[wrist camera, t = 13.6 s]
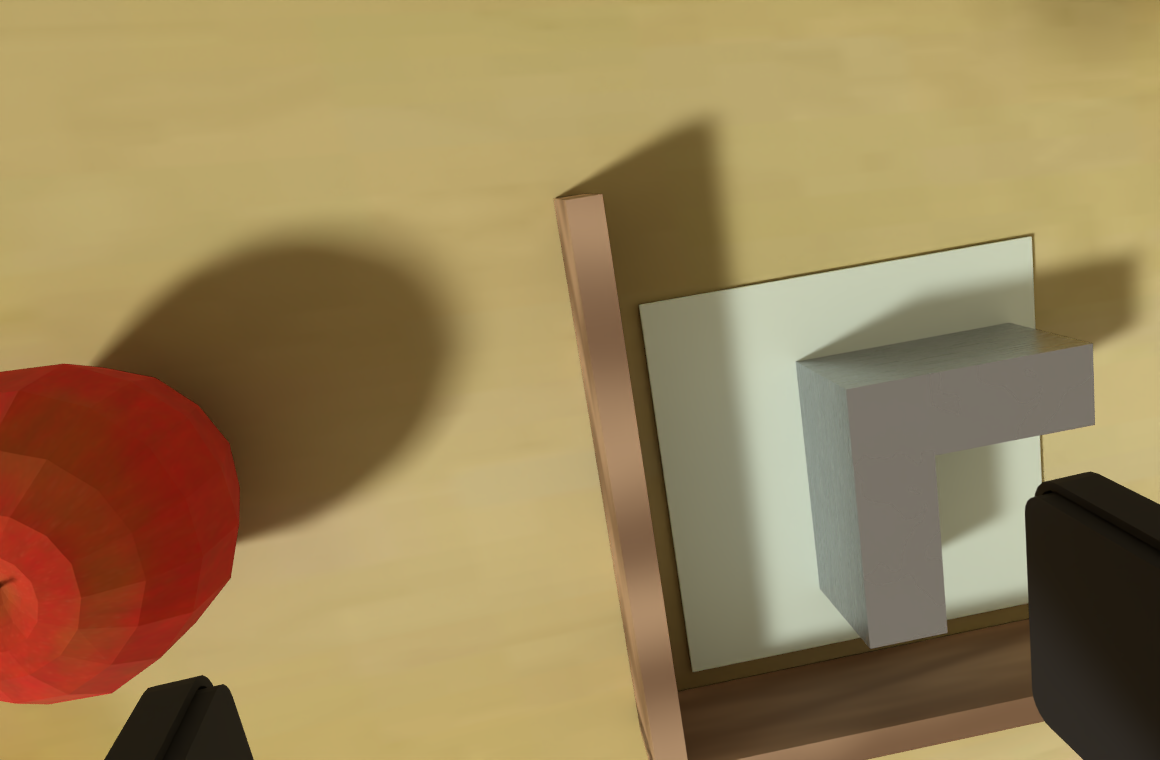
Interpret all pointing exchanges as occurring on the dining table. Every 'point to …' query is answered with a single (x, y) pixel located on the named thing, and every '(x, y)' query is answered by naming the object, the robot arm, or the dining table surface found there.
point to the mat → (777, 452)
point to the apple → (104, 527)
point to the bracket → (918, 455)
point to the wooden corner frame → (782, 698)
